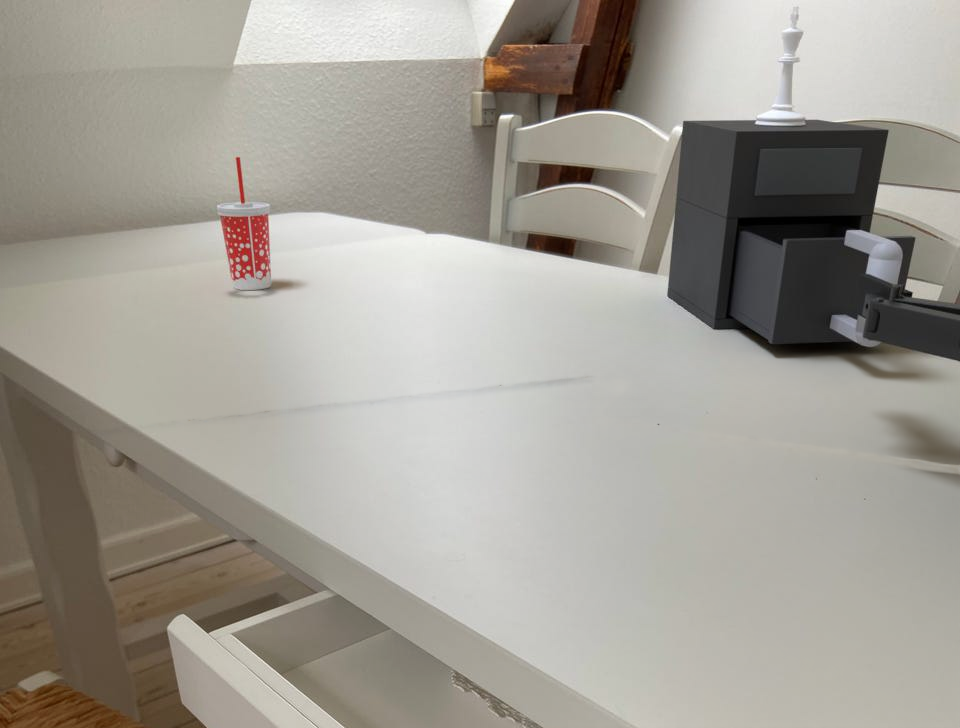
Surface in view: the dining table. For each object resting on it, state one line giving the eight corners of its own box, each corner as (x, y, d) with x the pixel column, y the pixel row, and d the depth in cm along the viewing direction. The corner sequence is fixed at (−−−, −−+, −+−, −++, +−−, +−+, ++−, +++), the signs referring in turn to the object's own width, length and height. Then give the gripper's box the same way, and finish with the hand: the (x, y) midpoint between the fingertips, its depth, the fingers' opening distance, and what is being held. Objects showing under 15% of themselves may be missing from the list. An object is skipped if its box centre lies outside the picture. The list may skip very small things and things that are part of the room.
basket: (937, 361, 87) (965, 241, 82) (806, 366, 85) (826, 245, 80) (822, 303, 107) (839, 204, 102) (714, 307, 105) (726, 206, 100)
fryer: (854, 325, 103) (890, 129, 94) (714, 330, 101) (737, 131, 92) (790, 292, 117) (817, 119, 108) (666, 296, 115) (683, 120, 106)
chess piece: (808, 124, 101) (826, 7, 96) (801, 126, 97) (818, 5, 92) (759, 122, 103) (774, 8, 98) (750, 125, 99) (765, 6, 94)
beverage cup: (273, 279, 124) (260, 154, 117) (282, 289, 119) (269, 158, 112) (222, 283, 122) (206, 155, 115) (230, 292, 117) (214, 160, 110)
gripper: (923, 441, 58) (779, 347, 76) (1312, 420, 60) (1083, 334, 78) (954, 307, 54) (795, 241, 72) (1368, 291, 57) (1114, 232, 75)
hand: (945, 289), depth 75 cm, fingers open, 13 cm apart
